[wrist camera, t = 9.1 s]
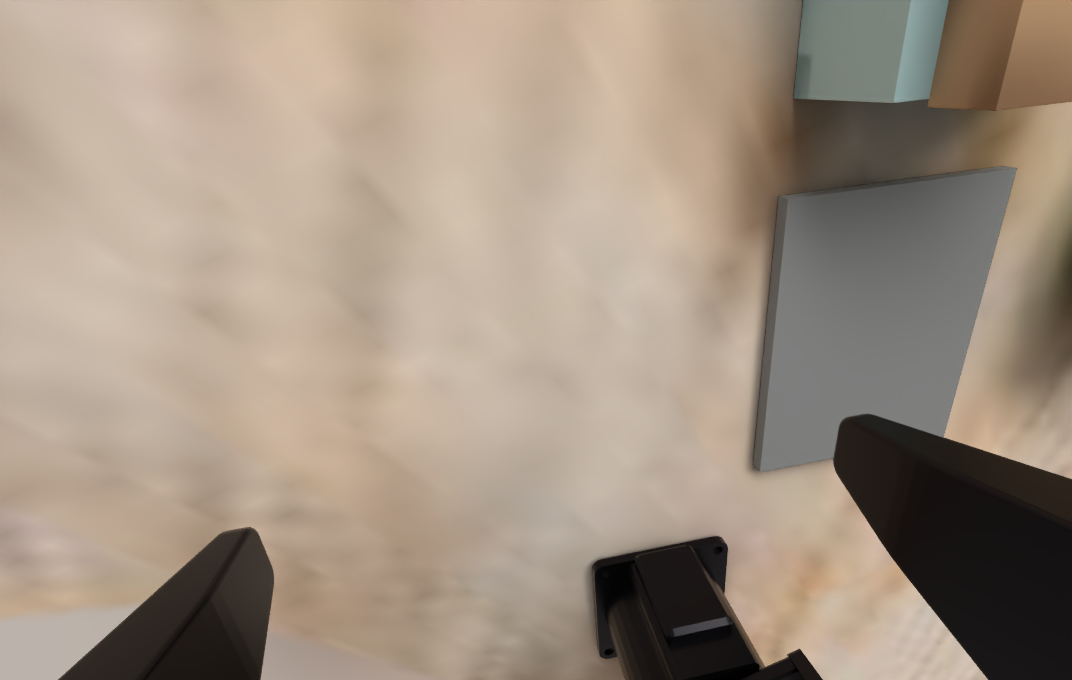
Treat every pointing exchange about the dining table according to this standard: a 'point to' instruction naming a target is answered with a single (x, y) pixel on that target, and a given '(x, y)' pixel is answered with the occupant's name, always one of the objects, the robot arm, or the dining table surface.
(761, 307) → the dining table surface
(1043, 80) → the board
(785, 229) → the mat
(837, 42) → the dish
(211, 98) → the dining table surface
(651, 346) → the dining table surface
